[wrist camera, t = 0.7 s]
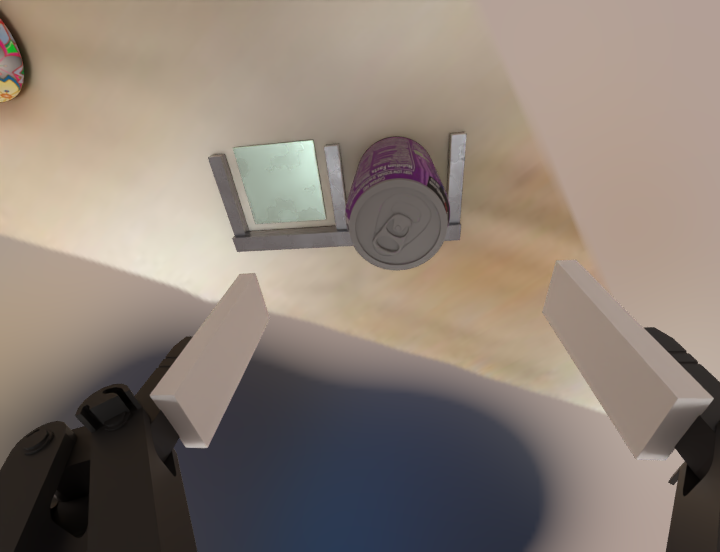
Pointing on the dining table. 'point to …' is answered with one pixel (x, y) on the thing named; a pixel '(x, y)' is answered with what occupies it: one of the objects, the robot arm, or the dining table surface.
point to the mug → (9, 66)
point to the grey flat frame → (304, 194)
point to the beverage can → (397, 205)
